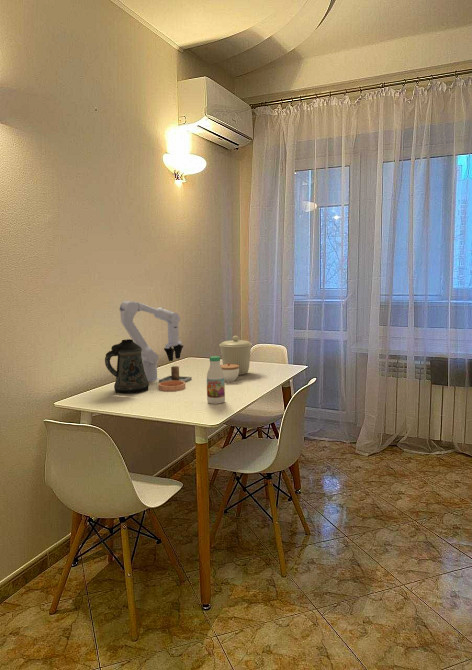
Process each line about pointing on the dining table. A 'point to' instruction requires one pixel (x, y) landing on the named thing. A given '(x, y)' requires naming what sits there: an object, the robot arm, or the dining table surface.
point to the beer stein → (128, 368)
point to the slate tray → (169, 378)
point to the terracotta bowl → (171, 385)
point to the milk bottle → (215, 382)
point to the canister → (236, 353)
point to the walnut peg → (175, 373)
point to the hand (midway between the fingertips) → (174, 359)
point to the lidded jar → (230, 372)
